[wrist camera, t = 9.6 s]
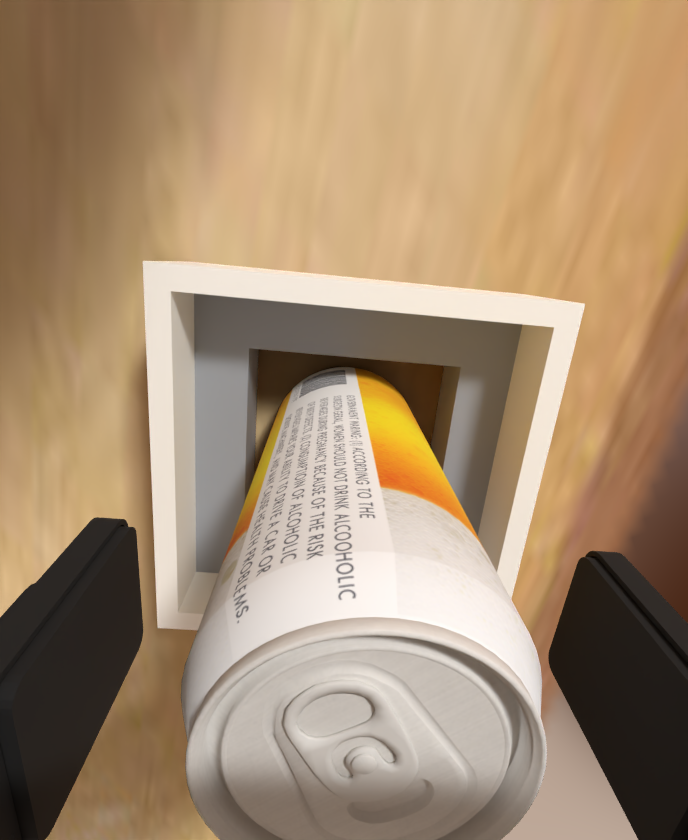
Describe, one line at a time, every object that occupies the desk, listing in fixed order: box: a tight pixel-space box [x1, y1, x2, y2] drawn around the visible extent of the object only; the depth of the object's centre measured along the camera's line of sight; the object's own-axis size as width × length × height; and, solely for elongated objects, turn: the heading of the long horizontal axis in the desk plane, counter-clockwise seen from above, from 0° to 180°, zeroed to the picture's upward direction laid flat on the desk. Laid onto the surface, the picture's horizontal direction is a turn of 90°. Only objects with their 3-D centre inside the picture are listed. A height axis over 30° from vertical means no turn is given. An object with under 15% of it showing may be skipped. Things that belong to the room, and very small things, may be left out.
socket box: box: [143, 261, 585, 630], centre depth 19 cm, size 14×14×5 cm
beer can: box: [181, 367, 547, 840], centre depth 14 cm, size 6×6×15 cm
